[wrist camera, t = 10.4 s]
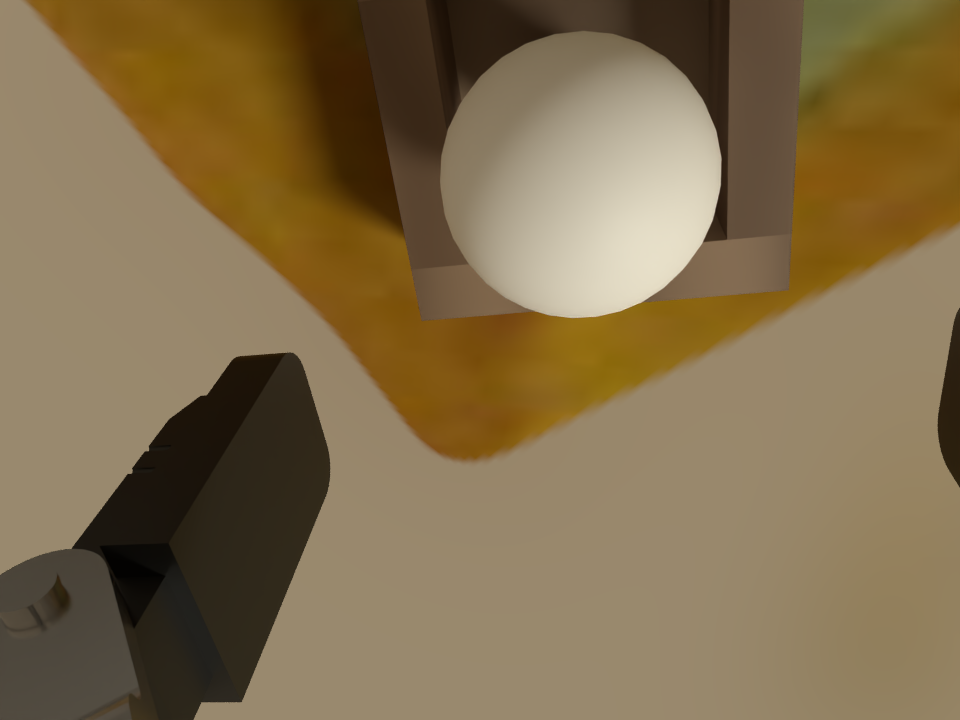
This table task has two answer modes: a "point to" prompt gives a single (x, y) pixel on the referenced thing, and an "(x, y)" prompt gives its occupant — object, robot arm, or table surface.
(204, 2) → the table surface
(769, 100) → the socket block
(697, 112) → the lightbulb
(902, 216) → the table surface
